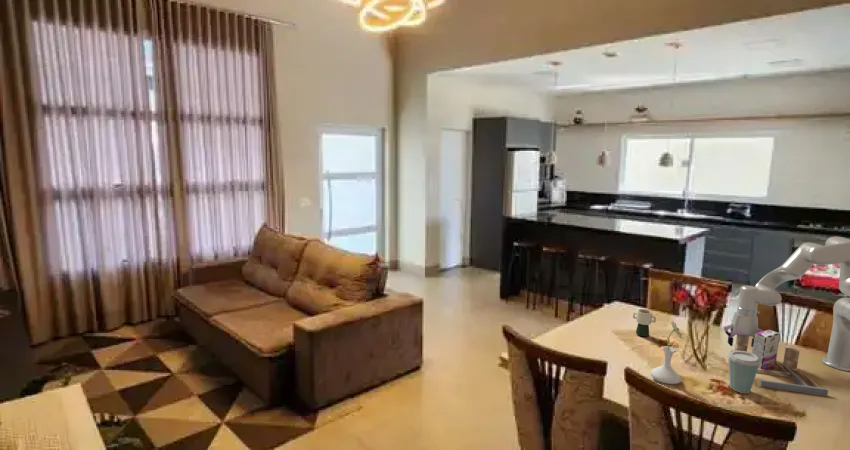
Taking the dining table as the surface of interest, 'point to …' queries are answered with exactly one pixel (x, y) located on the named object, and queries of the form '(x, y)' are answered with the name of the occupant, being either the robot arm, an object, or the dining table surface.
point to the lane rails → (794, 385)
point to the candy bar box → (766, 348)
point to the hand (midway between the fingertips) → (741, 346)
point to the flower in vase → (667, 363)
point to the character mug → (643, 321)
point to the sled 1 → (742, 346)
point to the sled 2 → (795, 364)
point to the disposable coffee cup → (742, 370)
